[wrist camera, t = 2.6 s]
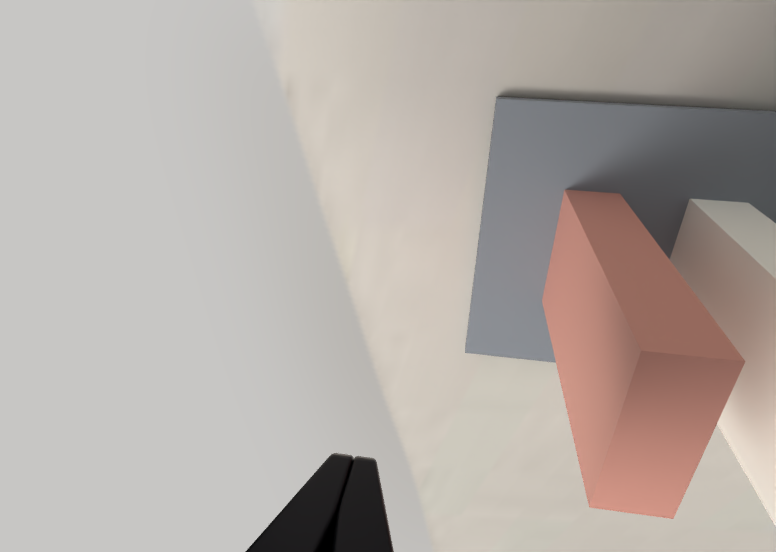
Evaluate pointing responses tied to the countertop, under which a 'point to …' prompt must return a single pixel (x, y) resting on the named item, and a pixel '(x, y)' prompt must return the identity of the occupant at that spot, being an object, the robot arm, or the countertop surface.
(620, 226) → the domino
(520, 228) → the slate mat
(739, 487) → the countertop surface
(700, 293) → the domino
